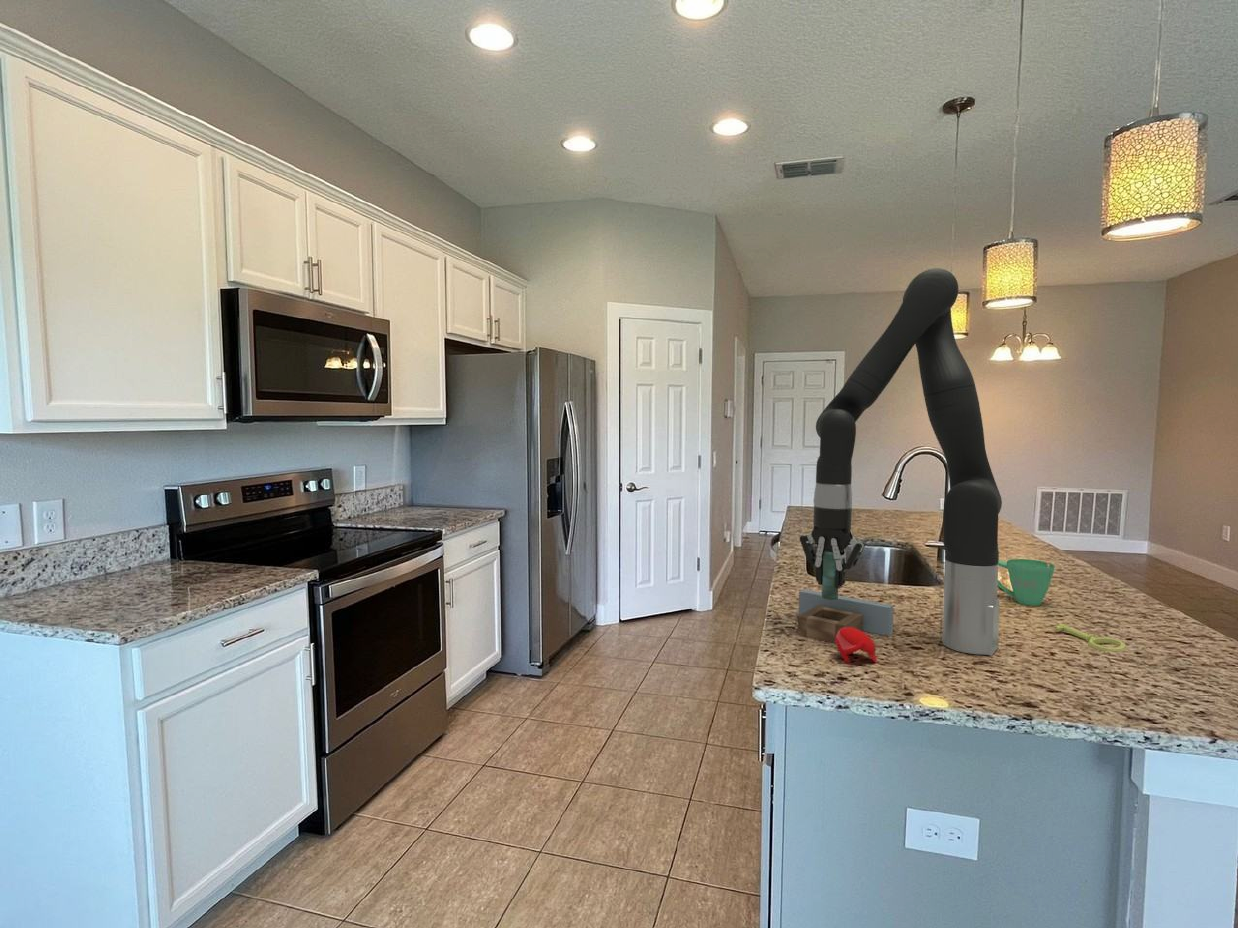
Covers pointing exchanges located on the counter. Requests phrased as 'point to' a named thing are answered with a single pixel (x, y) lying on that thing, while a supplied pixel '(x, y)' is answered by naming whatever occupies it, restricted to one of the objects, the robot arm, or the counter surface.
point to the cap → (854, 643)
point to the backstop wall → (853, 610)
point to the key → (1093, 639)
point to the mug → (1027, 580)
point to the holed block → (827, 622)
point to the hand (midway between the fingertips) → (830, 585)
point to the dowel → (829, 577)
